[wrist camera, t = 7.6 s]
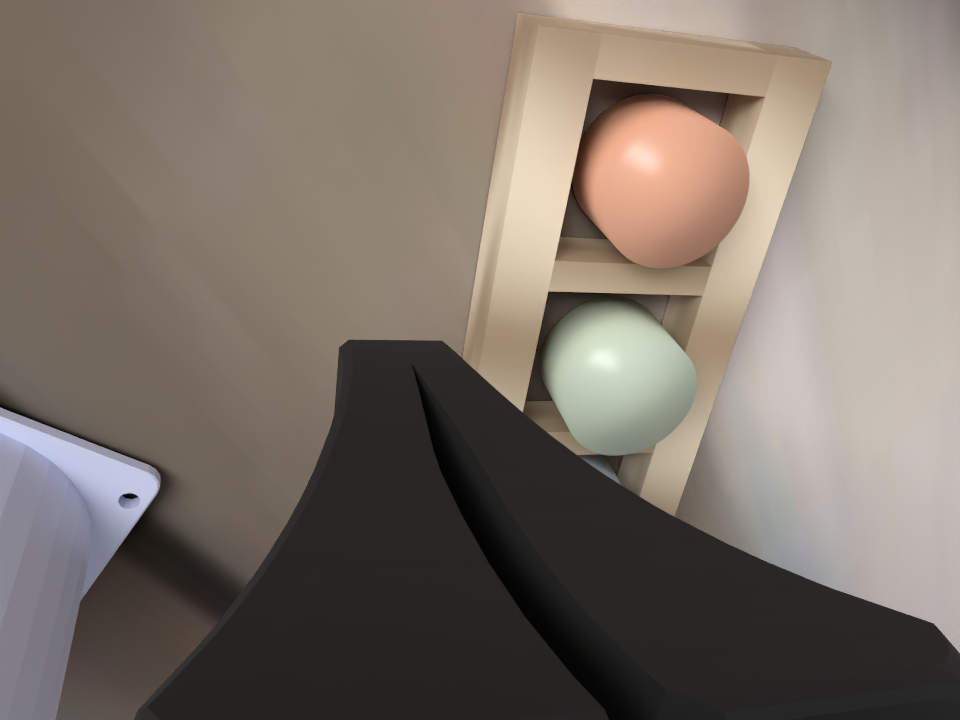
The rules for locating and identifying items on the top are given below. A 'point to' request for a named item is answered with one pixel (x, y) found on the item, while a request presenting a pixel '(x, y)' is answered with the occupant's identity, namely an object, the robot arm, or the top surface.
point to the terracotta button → (660, 180)
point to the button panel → (597, 262)
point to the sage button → (617, 376)
